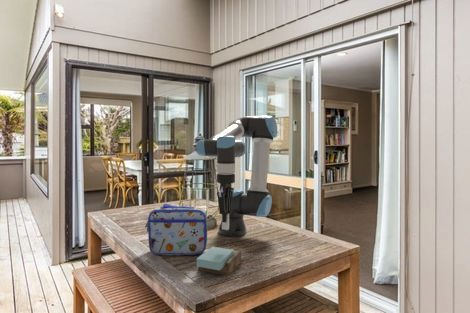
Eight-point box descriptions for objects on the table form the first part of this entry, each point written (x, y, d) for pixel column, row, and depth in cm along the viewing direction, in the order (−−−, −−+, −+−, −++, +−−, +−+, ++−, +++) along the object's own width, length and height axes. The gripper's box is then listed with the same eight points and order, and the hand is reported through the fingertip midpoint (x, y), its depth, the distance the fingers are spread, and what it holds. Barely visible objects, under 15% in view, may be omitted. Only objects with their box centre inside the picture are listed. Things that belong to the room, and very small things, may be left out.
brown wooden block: (213, 257, 141) (213, 246, 140) (241, 262, 136) (241, 250, 136) (198, 270, 128) (198, 257, 127) (228, 275, 123) (228, 262, 123)
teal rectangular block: (212, 253, 136) (212, 246, 135) (233, 257, 132) (233, 249, 132) (196, 266, 122) (196, 258, 122) (219, 270, 119) (219, 262, 119)
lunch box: (143, 257, 140) (143, 207, 139) (149, 248, 151) (148, 202, 149) (206, 257, 141) (207, 207, 140) (208, 248, 152) (208, 202, 150)
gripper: (223, 171, 141) (223, 224, 143) (210, 174, 129) (210, 232, 131) (239, 171, 138) (239, 225, 140) (228, 175, 126) (227, 234, 128)
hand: (225, 229), depth 136 cm, fingers closed
